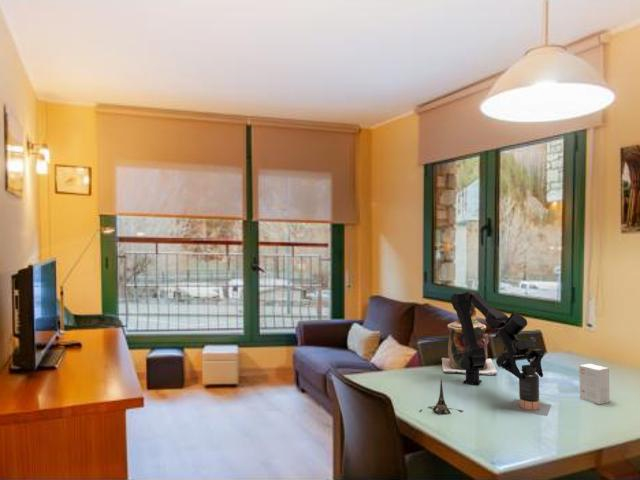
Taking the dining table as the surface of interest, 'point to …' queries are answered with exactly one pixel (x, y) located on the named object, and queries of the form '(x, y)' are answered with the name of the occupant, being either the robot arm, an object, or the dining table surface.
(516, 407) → the slate mat
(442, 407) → the eiffel tower figurine
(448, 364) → the cookie jar
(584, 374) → the small box
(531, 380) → the supplement bottle
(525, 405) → the terracotta bowl
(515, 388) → the dining table surface
